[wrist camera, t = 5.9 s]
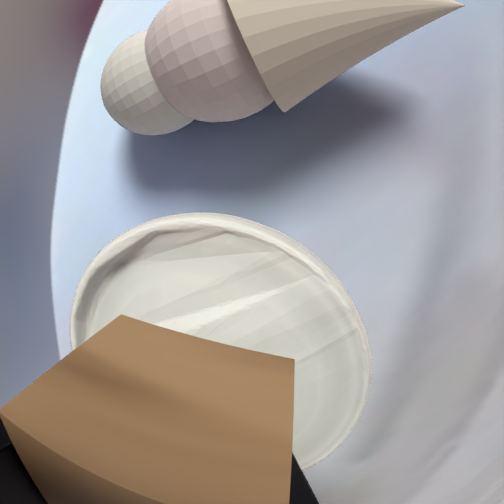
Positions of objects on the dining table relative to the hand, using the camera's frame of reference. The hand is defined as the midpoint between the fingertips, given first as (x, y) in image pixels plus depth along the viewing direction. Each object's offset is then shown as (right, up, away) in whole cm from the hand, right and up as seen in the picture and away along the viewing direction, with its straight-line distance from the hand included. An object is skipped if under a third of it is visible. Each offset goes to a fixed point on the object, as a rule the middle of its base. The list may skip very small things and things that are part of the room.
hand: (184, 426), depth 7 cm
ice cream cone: (+3, +13, +4) cm, 15 cm away
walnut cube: (0, 0, +1) cm, 1 cm away
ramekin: (+1, +2, +7) cm, 7 cm away
